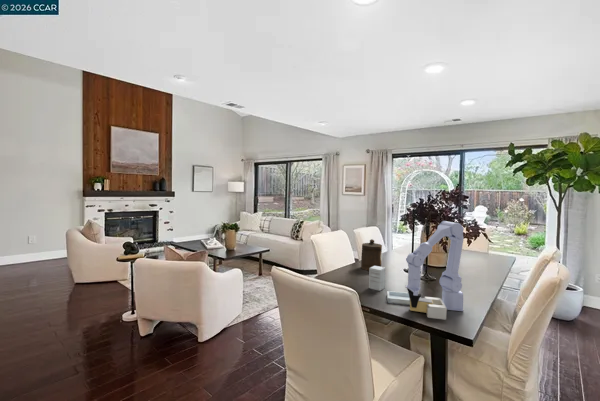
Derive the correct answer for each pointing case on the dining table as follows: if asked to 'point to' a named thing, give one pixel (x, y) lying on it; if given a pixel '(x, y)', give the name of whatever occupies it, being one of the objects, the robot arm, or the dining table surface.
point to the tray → (398, 297)
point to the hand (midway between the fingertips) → (413, 305)
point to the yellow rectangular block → (421, 305)
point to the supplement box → (377, 278)
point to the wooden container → (371, 255)
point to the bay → (436, 308)
